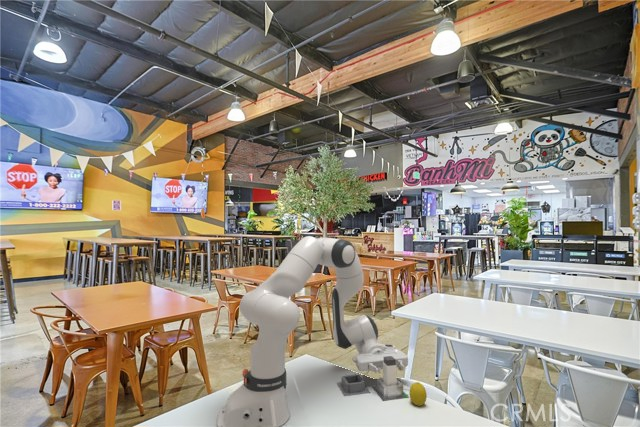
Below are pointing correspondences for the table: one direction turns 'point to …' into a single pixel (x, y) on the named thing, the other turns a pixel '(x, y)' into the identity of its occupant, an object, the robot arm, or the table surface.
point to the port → (390, 391)
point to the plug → (389, 371)
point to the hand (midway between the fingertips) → (390, 369)
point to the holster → (352, 385)
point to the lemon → (417, 394)
